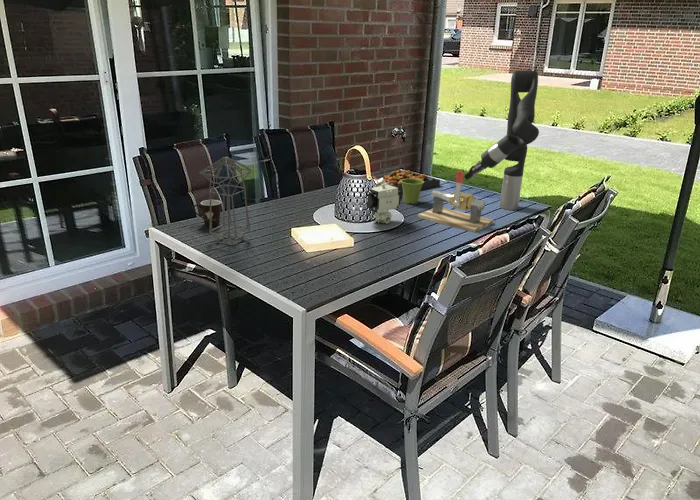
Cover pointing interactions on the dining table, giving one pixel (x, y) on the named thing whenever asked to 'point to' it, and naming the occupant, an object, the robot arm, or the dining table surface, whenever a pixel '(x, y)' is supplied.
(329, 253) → the dining table surface
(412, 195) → the plant pot
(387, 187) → the ball valve
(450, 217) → the mounting board
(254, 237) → the dining table surface
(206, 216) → the coffee mug
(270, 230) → the dining table surface
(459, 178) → the valve lever
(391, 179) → the food platter
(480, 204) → the valve body
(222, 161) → the geometric lantern
